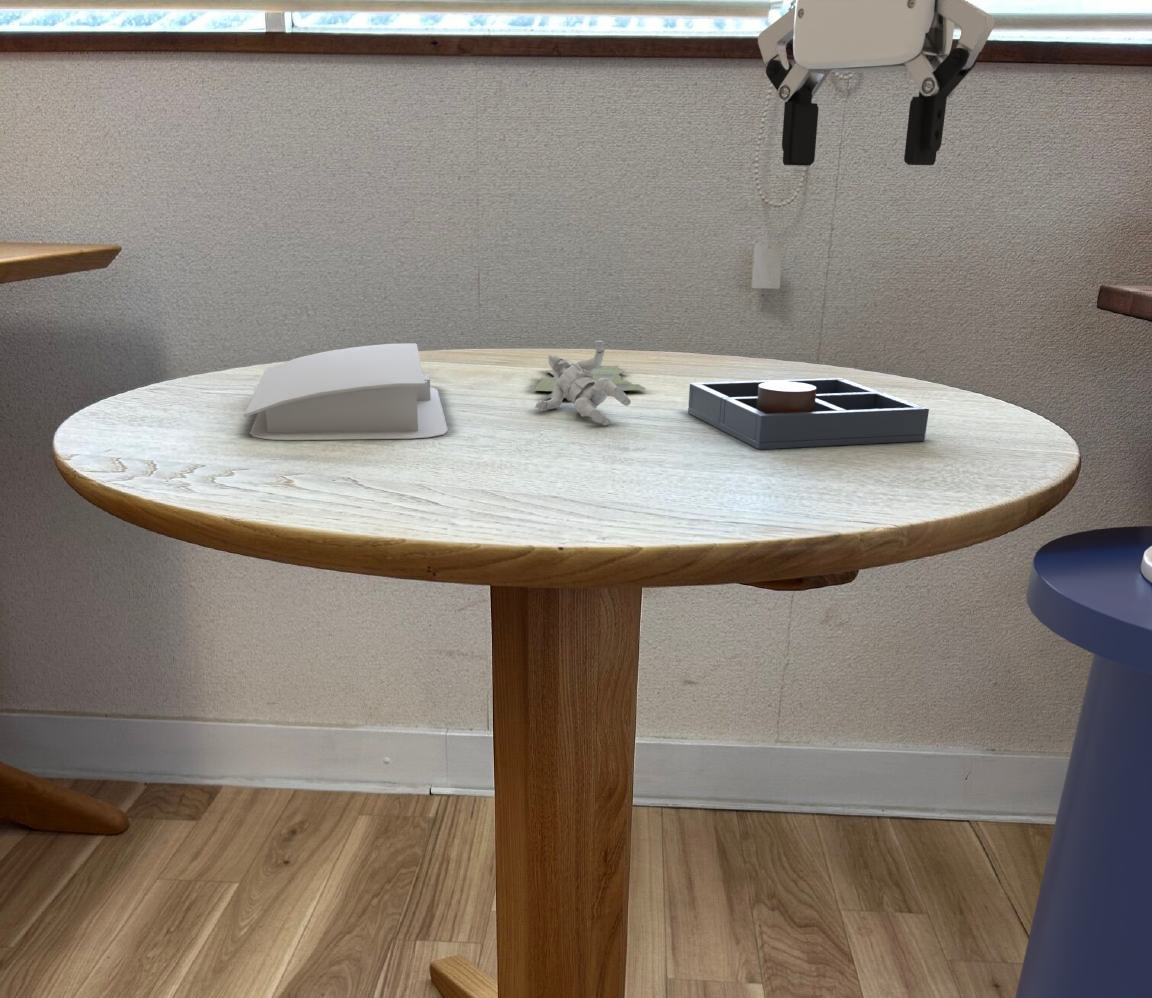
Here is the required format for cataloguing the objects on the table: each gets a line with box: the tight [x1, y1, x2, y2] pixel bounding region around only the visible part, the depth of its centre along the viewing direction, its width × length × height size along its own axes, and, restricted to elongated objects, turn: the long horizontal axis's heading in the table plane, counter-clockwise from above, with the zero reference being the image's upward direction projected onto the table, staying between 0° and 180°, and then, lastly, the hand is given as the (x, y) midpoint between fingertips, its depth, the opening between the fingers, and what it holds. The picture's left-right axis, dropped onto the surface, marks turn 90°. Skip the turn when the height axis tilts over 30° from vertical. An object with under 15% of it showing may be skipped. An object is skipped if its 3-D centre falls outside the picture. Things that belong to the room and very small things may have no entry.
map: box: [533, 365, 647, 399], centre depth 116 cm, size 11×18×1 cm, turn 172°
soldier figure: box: [534, 339, 632, 426], centre depth 103 cm, size 8×5×12 cm
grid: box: [687, 377, 930, 450], centre depth 100 cm, size 14×14×2 cm
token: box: [756, 381, 816, 414], centre depth 96 cm, size 4×4×3 cm
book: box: [243, 342, 449, 441], centre depth 102 cm, size 15×23×4 cm, turn 8°
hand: (856, 165), depth 86 cm, fingers open, 9 cm apart
